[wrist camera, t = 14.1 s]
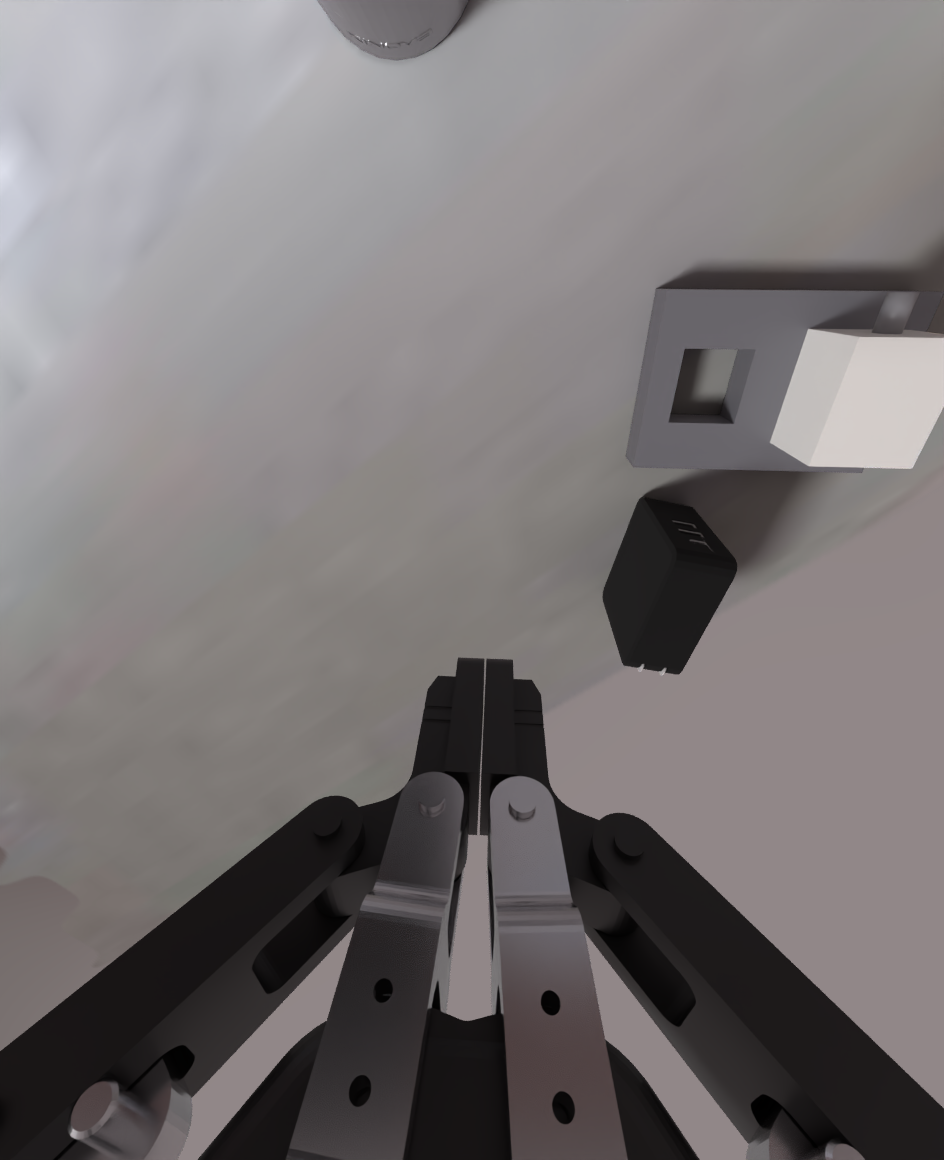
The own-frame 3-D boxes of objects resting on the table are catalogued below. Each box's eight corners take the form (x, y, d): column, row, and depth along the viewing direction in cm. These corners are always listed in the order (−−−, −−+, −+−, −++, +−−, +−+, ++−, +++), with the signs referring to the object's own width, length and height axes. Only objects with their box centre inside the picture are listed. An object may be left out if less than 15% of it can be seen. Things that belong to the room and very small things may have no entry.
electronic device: (689, 503, 38) (742, 566, 30) (644, 602, 44) (678, 680, 35) (639, 493, 38) (678, 554, 30) (600, 594, 44) (623, 670, 35)
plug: (803, 290, 30) (876, 292, 24) (902, 290, 30) (1001, 293, 24) (756, 434, 35) (808, 466, 29) (841, 436, 34) (911, 468, 29)
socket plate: (656, 288, 31) (667, 289, 29) (913, 290, 30) (944, 291, 28) (625, 456, 37) (633, 467, 35) (840, 461, 36) (861, 472, 34)
